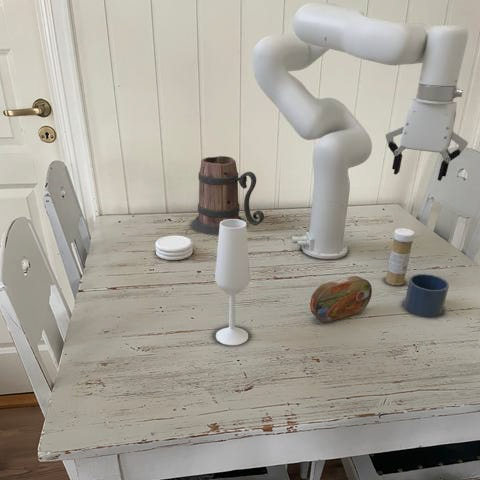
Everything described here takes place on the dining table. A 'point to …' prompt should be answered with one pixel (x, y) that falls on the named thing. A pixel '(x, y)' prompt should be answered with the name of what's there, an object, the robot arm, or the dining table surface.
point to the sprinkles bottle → (399, 256)
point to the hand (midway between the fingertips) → (417, 176)
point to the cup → (426, 295)
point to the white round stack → (174, 247)
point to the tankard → (222, 194)
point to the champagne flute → (232, 273)
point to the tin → (340, 298)
